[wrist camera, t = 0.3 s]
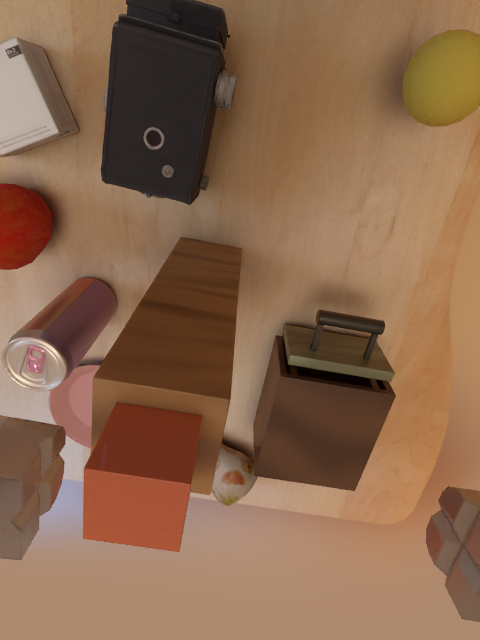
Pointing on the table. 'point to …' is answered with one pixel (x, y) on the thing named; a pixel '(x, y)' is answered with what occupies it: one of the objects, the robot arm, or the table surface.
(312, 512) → the table surface
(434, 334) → the table surface
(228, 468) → the mug
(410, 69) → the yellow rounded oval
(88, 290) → the beverage can
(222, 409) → the stand
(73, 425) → the plate
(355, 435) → the cabinet
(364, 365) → the drawer
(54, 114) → the small box
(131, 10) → the camera
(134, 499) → the block
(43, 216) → the apple
